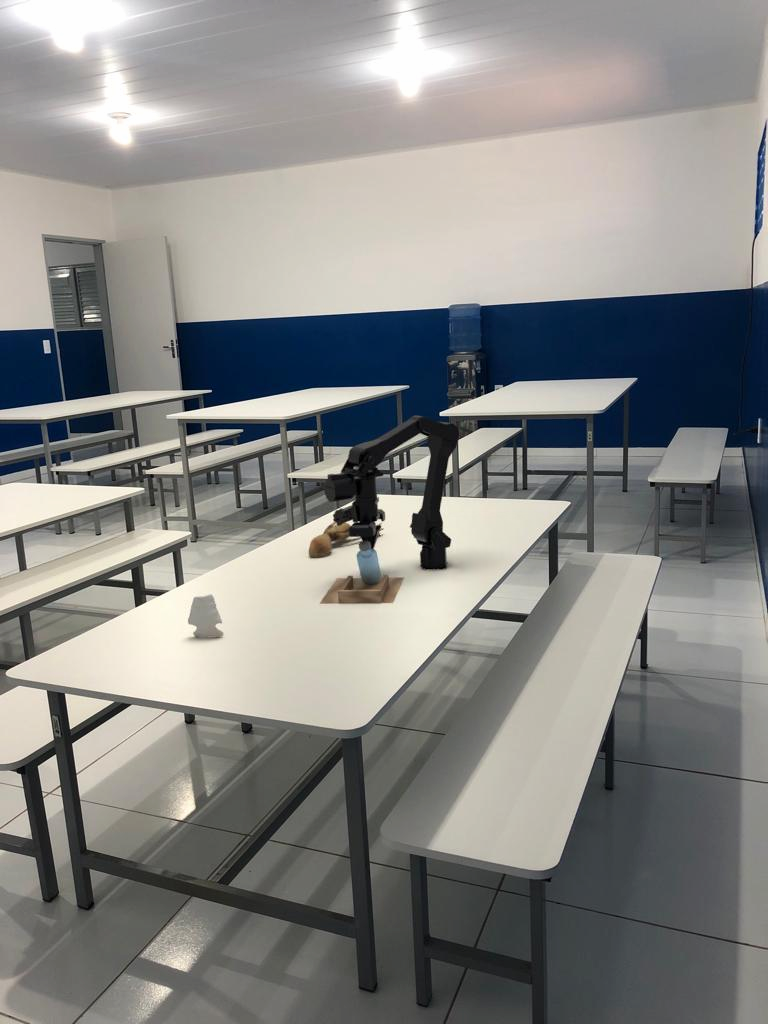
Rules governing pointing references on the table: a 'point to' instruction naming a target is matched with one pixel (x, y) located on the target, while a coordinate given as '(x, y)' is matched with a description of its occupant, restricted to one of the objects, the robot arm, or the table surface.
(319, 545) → the toy
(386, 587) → the rest
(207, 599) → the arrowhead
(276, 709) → the table surface
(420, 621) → the table surface
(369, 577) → the bottle
